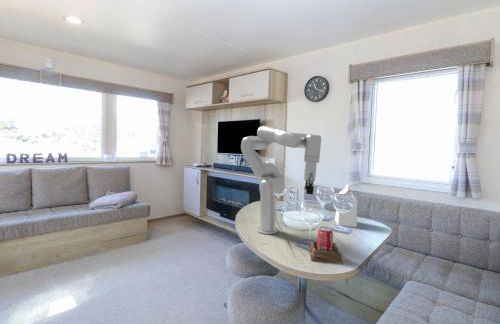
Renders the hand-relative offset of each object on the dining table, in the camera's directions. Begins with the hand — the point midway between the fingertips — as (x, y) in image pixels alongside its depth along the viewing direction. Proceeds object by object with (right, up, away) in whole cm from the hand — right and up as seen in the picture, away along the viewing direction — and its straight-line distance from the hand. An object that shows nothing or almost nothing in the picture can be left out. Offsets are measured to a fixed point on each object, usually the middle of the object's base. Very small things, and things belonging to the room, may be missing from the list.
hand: (308, 191), depth 134 cm
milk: (+34, -26, +40) cm, 59 cm away
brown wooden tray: (+5, -29, -10) cm, 31 cm away
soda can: (+5, -28, -10) cm, 30 cm away
